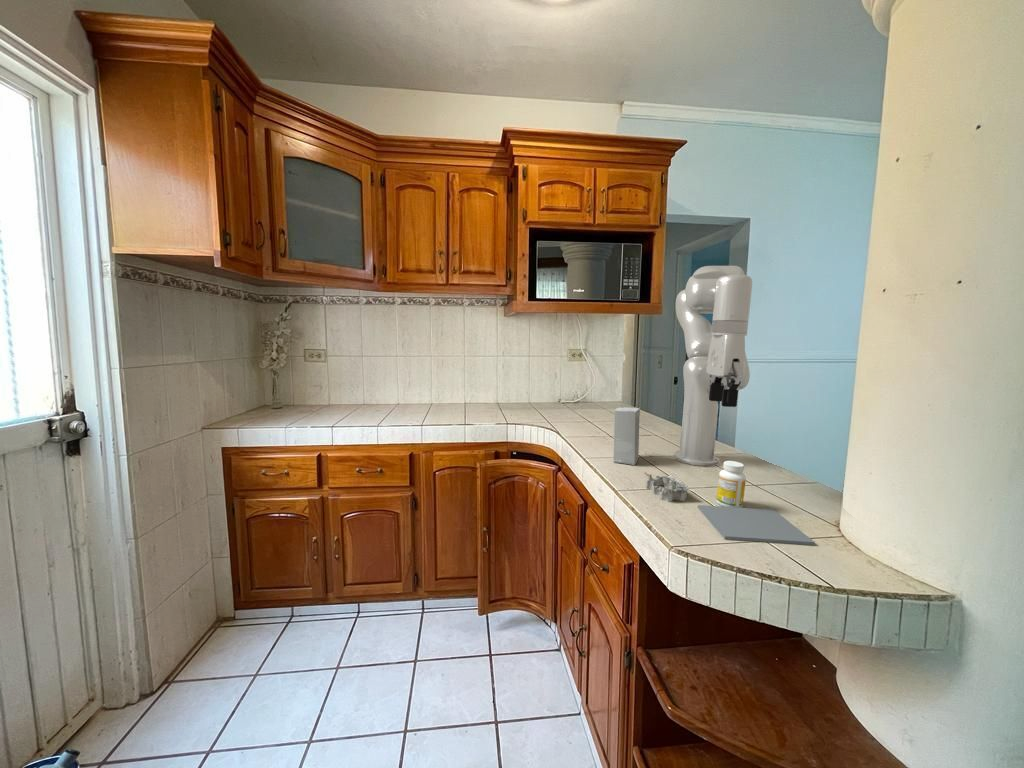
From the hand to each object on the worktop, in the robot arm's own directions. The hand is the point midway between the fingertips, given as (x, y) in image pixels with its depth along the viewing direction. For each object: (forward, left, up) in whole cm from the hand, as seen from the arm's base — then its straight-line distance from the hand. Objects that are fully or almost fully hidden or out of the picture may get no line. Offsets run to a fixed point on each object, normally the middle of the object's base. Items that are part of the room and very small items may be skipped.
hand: (722, 403), depth 99 cm
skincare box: (-20, -18, -22) cm, 35 cm away
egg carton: (+4, -13, -22) cm, 26 cm away
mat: (+19, 0, -22) cm, 29 cm away
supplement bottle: (+9, 0, -22) cm, 24 cm away
